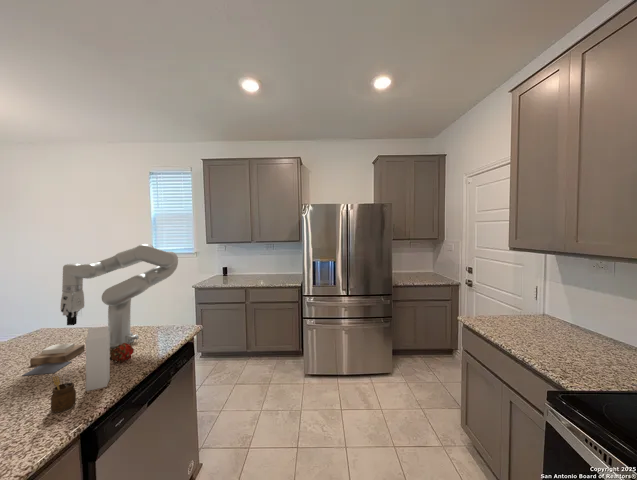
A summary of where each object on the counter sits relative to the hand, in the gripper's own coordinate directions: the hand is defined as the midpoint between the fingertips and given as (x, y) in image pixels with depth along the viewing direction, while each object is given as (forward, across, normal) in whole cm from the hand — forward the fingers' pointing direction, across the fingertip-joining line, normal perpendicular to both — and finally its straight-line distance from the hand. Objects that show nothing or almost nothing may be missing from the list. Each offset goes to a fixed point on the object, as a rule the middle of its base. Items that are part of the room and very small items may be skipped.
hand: (71, 324), depth 132 cm
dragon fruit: (+12, -19, -32) cm, 39 cm away
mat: (+12, -21, -5) cm, 25 cm away
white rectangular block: (+10, -9, -1) cm, 13 cm away
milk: (+12, -40, -34) cm, 54 cm away
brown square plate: (+12, -10, -1) cm, 16 cm away
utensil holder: (+12, -53, -31) cm, 63 cm away
